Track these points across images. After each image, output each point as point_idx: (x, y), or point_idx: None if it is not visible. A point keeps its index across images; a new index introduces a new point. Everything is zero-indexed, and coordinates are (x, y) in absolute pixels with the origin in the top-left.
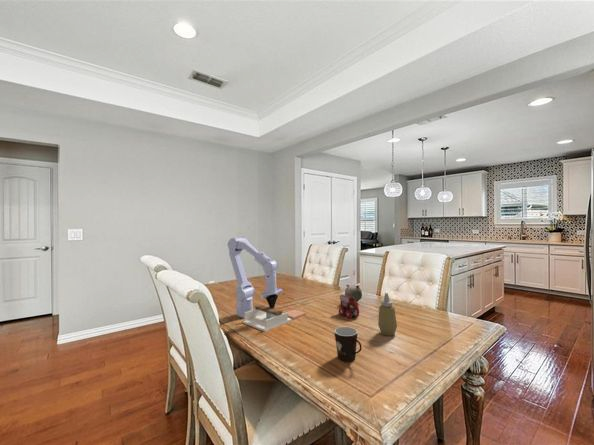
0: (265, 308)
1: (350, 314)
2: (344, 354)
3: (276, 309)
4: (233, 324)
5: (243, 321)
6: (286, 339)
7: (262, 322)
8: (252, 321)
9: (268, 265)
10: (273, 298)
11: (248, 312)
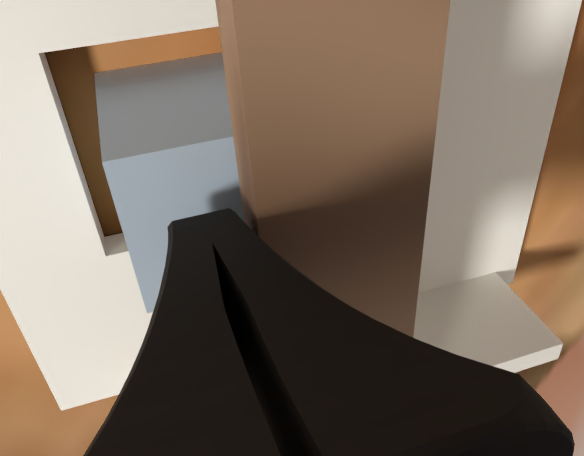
0: (380, 283)
1: None
2: None
3: (236, 27)
4: (571, 277)
5: (512, 269)
6: None
7: None
8: (471, 202)
9: None
10: (386, 417)
11: (506, 354)
